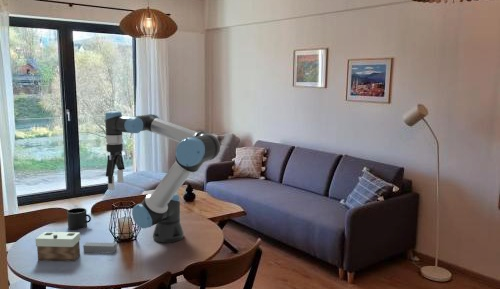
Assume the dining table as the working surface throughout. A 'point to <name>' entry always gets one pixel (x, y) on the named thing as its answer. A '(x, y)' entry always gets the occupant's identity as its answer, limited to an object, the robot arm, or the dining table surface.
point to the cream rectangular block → (58, 239)
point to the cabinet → (58, 253)
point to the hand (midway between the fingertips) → (116, 186)
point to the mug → (77, 218)
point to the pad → (100, 247)
